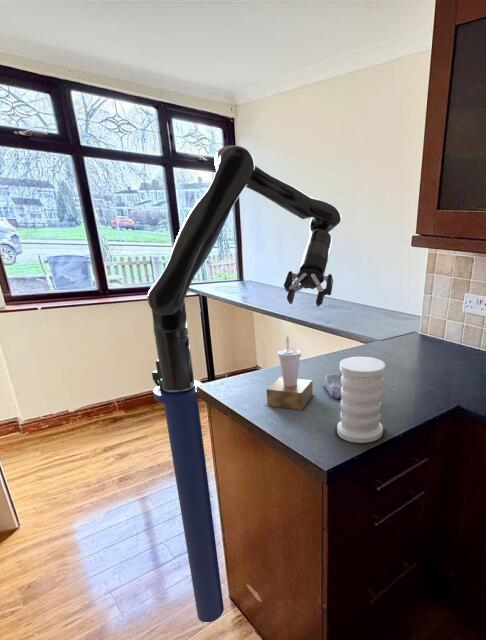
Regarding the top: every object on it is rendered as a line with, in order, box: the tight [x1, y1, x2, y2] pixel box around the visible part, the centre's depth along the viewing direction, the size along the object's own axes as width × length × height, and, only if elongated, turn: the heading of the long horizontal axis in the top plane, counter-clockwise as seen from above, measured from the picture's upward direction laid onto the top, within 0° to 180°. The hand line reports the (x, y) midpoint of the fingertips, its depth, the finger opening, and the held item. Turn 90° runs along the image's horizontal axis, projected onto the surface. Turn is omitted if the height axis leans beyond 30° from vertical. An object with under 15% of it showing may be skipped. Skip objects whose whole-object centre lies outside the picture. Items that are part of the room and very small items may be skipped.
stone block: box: [323, 373, 342, 400], centre depth 125 cm, size 12×5×10 cm
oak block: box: [266, 376, 313, 411], centre depth 116 cm, size 10×10×5 cm
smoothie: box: [277, 336, 302, 387], centre depth 113 cm, size 6×6×14 cm
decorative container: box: [336, 356, 387, 444], centre depth 99 cm, size 12×12×18 cm
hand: (303, 303), depth 119 cm, fingers open, 8 cm apart
